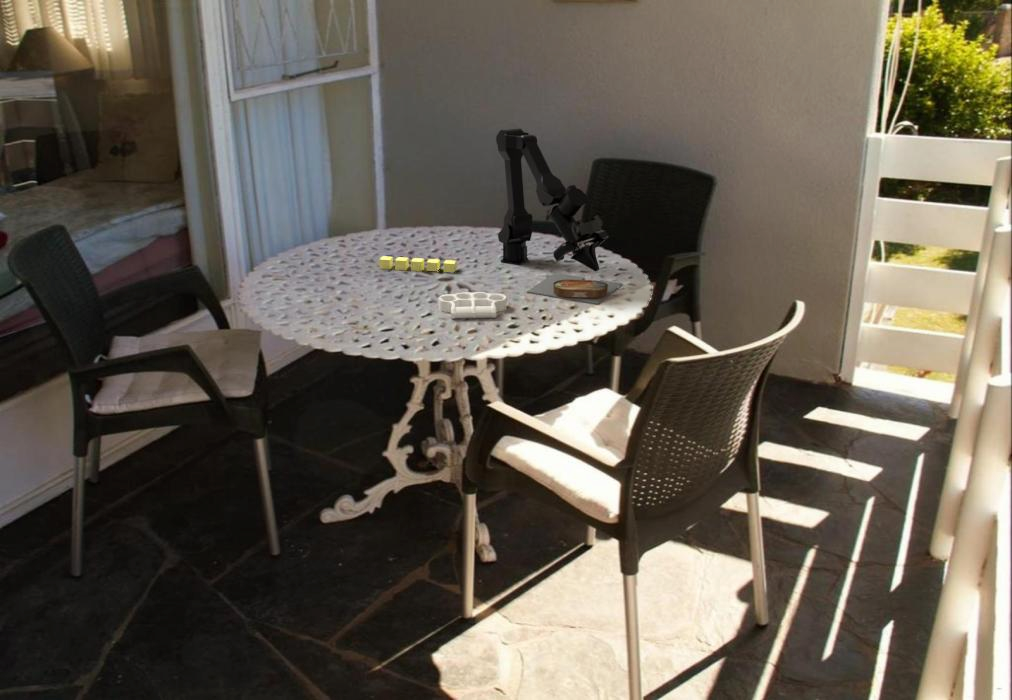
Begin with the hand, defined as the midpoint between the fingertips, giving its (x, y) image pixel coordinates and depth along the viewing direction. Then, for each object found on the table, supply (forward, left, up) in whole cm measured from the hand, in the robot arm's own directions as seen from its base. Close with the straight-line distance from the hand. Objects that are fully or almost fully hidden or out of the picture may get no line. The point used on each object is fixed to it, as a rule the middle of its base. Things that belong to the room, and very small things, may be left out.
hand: (597, 270), depth 277 cm
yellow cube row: (-56, -3, -7) cm, 57 cm away
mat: (-7, +1, -7) cm, 10 cm away
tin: (-5, +1, -5) cm, 7 cm away
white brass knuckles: (-24, -27, -7) cm, 37 cm away
